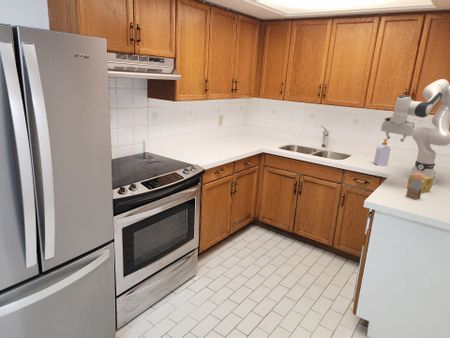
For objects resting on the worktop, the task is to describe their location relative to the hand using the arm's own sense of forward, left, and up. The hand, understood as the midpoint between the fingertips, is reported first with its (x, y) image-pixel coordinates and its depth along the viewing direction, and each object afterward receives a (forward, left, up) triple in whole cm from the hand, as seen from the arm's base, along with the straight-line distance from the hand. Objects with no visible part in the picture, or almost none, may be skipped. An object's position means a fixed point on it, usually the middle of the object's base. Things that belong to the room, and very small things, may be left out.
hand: (394, 140), depth 219 cm
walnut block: (+13, +24, -31) cm, 41 cm away
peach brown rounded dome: (+13, +24, -20) cm, 34 cm away
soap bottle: (-50, -29, -31) cm, 66 cm away
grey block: (+13, +24, -25) cm, 37 cm away
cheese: (-7, +19, -31) cm, 37 cm away
